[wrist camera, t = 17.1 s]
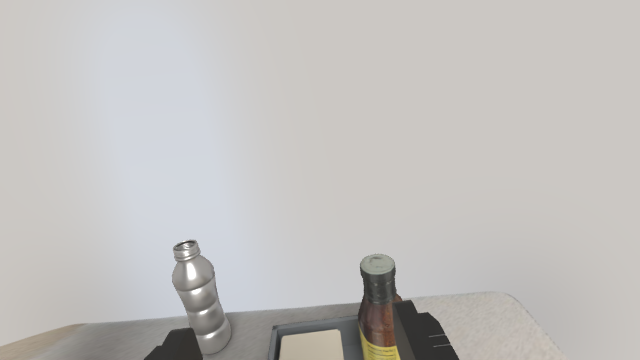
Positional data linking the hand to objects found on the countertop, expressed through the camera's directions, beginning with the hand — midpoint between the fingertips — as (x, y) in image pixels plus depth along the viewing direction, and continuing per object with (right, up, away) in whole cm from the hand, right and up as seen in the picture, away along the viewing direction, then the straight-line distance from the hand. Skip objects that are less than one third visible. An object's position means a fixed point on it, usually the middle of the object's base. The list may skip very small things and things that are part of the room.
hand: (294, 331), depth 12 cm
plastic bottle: (-18, -23, +41) cm, 51 cm away
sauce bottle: (+10, -22, +29) cm, 38 cm away
